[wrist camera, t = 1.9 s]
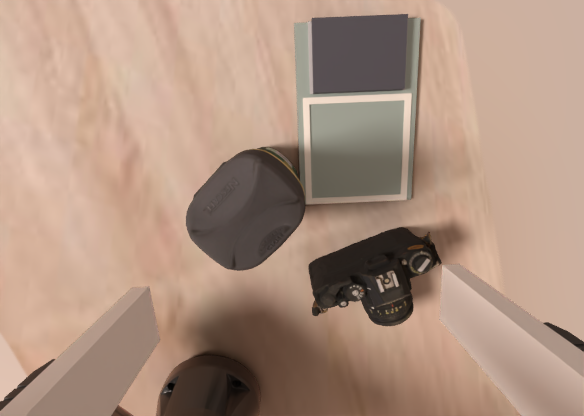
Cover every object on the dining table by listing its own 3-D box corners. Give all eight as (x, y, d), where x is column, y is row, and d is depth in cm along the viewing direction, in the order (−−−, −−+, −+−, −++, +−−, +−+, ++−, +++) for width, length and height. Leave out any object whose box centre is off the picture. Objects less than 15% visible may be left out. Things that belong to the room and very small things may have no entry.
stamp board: (300, 203, 39) (301, 204, 39) (294, 25, 34) (294, 22, 34) (409, 198, 39) (411, 199, 39) (418, 19, 34) (421, 17, 34)
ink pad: (309, 94, 36) (310, 92, 34) (307, 22, 34) (308, 18, 33) (404, 90, 36) (408, 88, 35) (407, 18, 34) (411, 14, 33)
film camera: (346, 330, 44) (363, 383, 34) (294, 274, 42) (296, 314, 32) (442, 259, 42) (489, 295, 32) (392, 196, 39) (426, 214, 30)
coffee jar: (260, 227, 40) (238, 298, 22) (217, 189, 39) (156, 230, 21) (309, 177, 39) (327, 208, 20) (265, 136, 37) (244, 130, 19)
